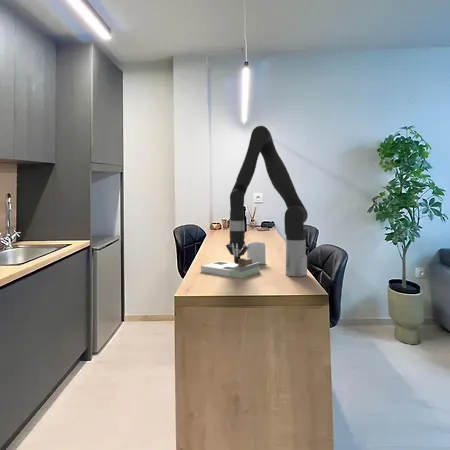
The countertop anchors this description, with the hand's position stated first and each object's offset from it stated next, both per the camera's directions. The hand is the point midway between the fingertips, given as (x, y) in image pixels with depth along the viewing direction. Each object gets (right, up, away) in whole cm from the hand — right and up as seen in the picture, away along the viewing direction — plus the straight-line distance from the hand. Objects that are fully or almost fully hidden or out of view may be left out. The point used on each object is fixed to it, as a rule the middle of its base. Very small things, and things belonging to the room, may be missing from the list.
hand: (237, 263), depth 190 cm
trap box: (-4, -4, -1) cm, 5 cm away
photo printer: (+11, -2, +19) cm, 22 cm away
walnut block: (+4, -1, -3) cm, 5 cm away
